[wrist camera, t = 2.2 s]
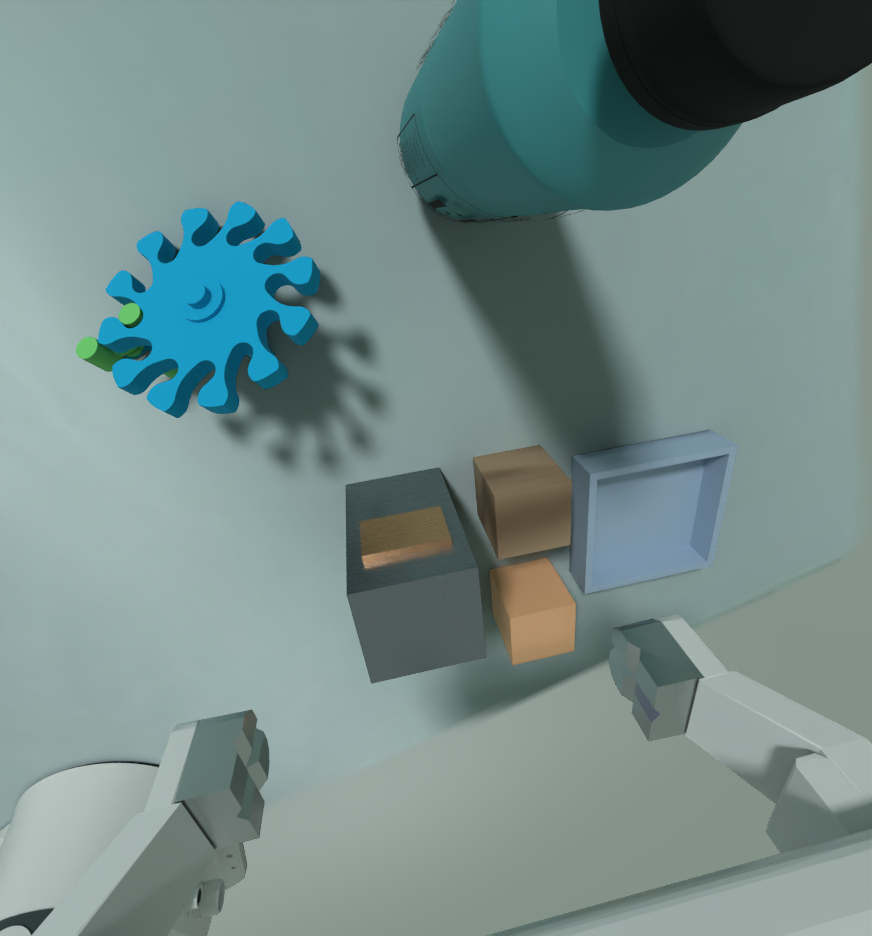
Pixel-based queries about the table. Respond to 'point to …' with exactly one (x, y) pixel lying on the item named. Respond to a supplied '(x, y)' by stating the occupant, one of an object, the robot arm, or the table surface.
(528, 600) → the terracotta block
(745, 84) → the beverage bottle
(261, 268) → the gear
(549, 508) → the walnut block
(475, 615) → the box
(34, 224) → the table surface
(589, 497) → the tray
